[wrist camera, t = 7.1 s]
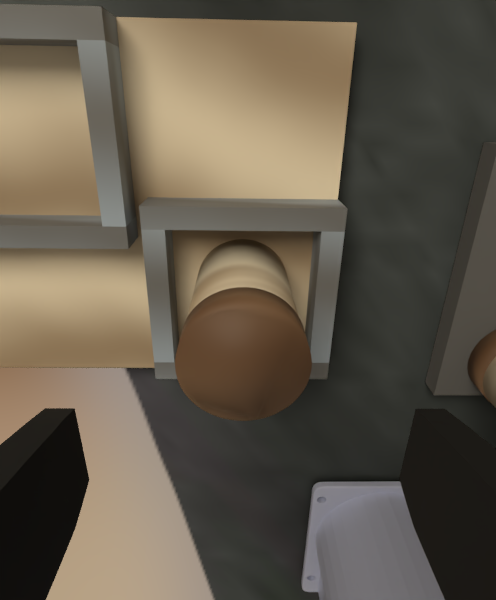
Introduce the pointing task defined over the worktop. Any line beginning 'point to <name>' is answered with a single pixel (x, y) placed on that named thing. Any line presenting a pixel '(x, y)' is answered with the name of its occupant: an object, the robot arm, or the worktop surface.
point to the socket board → (161, 175)
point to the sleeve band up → (243, 335)
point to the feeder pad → (469, 288)
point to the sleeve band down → (484, 366)
